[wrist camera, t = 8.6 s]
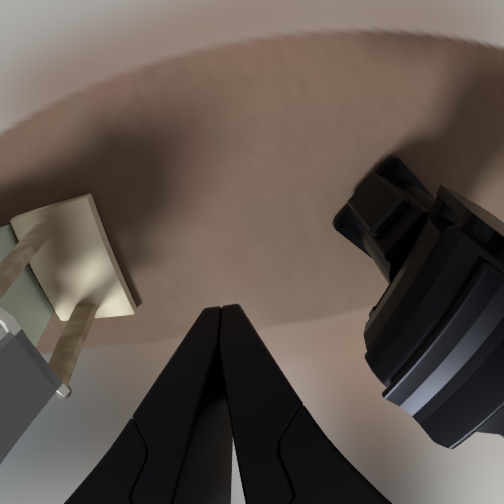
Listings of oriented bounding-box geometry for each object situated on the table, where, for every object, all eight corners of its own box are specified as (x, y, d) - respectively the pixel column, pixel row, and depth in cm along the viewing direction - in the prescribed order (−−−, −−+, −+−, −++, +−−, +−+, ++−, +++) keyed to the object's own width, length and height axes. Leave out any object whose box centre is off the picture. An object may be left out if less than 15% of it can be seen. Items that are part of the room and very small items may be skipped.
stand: (90, 191, 19) (21, 269, 11) (137, 308, 24) (111, 402, 16) (14, 214, 19) (-54, 285, 11) (65, 315, 24) (28, 395, 17)
